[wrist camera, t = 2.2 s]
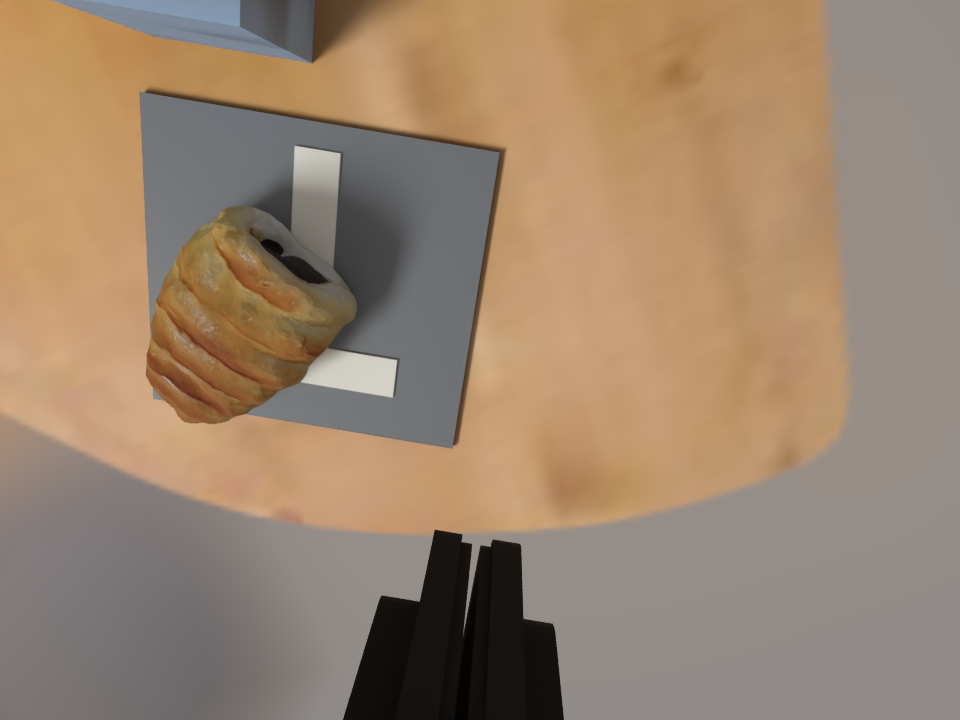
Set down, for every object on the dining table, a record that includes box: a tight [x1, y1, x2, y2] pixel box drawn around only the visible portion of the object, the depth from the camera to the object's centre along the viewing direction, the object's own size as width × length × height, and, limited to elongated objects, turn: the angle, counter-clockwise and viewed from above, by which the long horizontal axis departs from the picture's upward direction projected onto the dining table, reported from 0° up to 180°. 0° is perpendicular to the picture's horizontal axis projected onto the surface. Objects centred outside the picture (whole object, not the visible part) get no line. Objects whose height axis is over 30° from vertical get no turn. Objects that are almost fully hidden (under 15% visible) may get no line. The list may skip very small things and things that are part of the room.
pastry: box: [146, 206, 357, 424], centre depth 22 cm, size 9×7×4 cm
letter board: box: [140, 92, 500, 448], centre depth 24 cm, size 13×14×1 cm
